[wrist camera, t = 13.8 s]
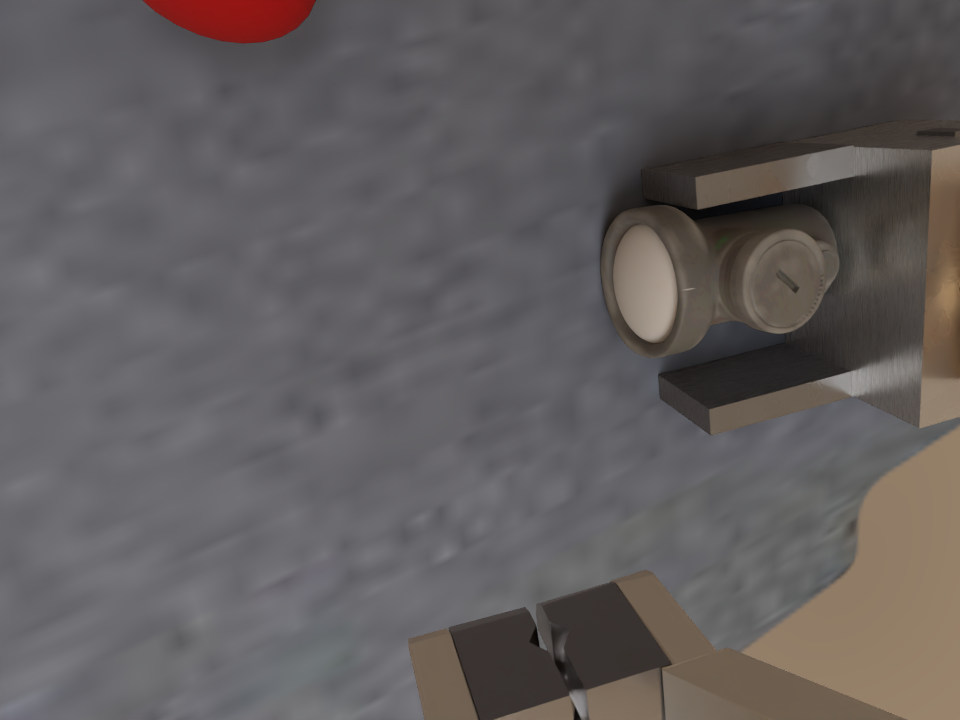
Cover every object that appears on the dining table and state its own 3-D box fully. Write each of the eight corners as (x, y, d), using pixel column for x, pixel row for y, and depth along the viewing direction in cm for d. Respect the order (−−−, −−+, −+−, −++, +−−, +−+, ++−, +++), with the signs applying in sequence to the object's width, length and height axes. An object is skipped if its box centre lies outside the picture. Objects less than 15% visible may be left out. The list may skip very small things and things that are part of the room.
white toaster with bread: (640, 167, 42) (853, 196, 27) (898, 116, 45) (1224, 115, 30) (660, 399, 47) (849, 539, 32) (891, 339, 50) (1168, 439, 35)
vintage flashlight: (597, 346, 44) (704, 384, 35) (588, 208, 43) (700, 210, 33) (761, 314, 48) (898, 342, 39) (760, 187, 46) (904, 183, 37)
